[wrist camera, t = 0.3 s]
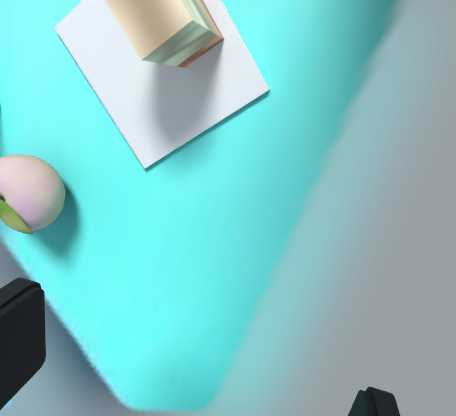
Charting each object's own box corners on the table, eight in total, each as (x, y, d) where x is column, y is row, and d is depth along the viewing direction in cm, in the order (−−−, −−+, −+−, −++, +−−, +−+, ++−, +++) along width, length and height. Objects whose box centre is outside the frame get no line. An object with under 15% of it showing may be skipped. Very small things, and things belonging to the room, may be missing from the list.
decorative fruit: (97, 184, 43) (40, 209, 34) (66, 224, 46) (6, 257, 37) (41, 131, 42) (-33, 143, 33) (14, 175, 45) (-61, 197, 36)
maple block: (197, -9, 33) (154, -48, 24) (224, 39, 34) (192, 20, 24) (158, 23, 35) (104, -1, 25) (184, 68, 35) (141, 60, 26)
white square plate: (176, -84, 32) (173, -87, 31) (269, 89, 35) (269, 89, 34) (57, 28, 38) (54, 27, 37) (146, 167, 41) (144, 168, 40)
